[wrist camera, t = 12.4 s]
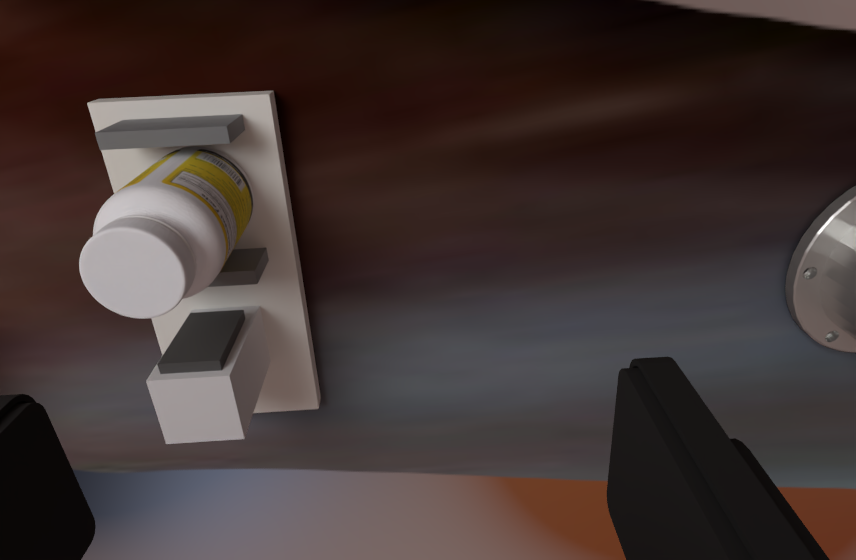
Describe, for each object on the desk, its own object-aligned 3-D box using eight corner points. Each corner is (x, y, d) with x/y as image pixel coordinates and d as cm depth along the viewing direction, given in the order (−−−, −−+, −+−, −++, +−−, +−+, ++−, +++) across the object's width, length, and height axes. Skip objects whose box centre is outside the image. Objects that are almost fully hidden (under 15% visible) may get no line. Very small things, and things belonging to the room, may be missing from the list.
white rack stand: (273, 90, 30) (233, 121, 22) (320, 397, 39) (303, 491, 31) (98, 98, 29) (0, 133, 22) (187, 405, 38) (137, 502, 31)
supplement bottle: (163, 240, 32) (75, 334, 23) (144, 143, 29) (38, 206, 21) (261, 241, 32) (212, 334, 23) (251, 145, 30) (192, 208, 21)
